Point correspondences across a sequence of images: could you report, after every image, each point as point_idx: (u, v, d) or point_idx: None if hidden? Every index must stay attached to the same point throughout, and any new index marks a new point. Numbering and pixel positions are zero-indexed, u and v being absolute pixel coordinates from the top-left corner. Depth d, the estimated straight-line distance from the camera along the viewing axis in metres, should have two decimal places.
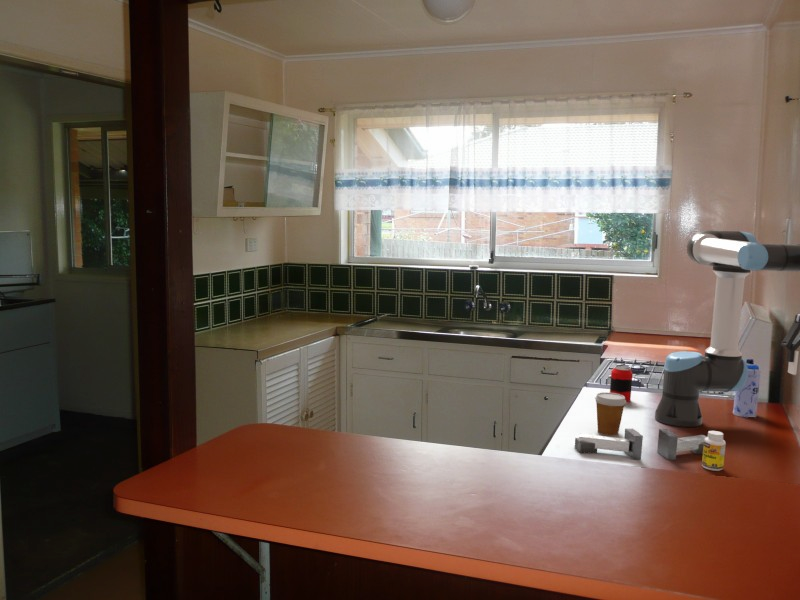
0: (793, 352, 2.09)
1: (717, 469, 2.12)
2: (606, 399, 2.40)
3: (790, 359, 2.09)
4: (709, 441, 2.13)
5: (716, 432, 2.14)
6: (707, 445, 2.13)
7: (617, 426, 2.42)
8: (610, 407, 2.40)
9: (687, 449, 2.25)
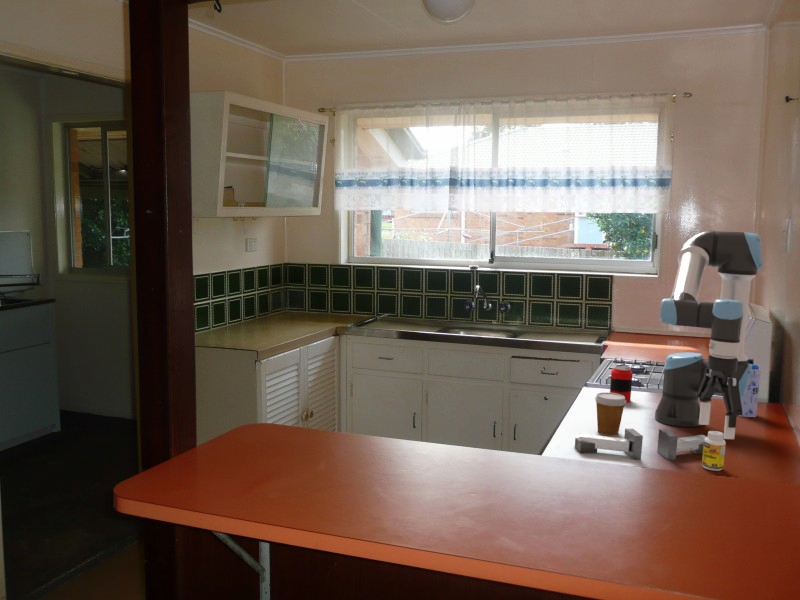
0: None
1: (717, 469, 2.12)
2: (606, 399, 2.40)
3: None
4: (709, 441, 2.13)
5: (716, 432, 2.14)
6: (707, 445, 2.13)
7: (617, 426, 2.42)
8: (609, 407, 2.40)
9: (687, 449, 2.25)
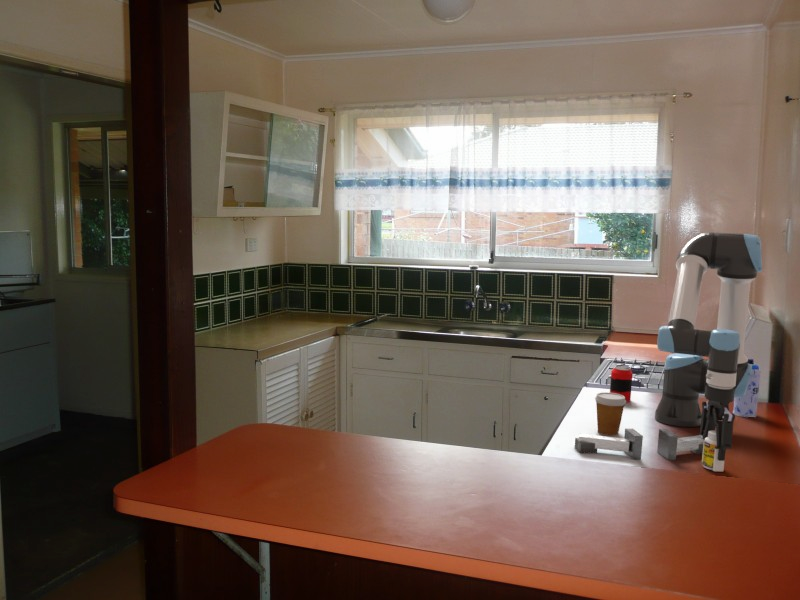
0: None
1: None
2: (606, 399, 2.40)
3: None
4: (709, 441, 2.13)
5: None
6: (707, 444, 2.13)
7: (617, 426, 2.42)
8: (609, 407, 2.40)
9: (687, 449, 2.25)
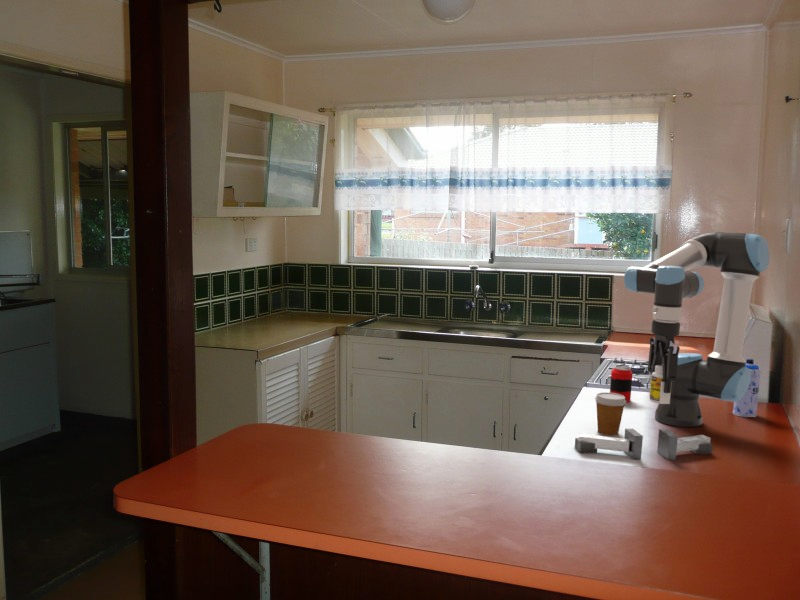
0: None
1: None
2: (606, 399, 2.40)
3: None
4: (656, 374, 2.18)
5: None
6: (654, 378, 2.18)
7: (617, 426, 2.42)
8: (609, 407, 2.39)
9: (687, 449, 2.25)
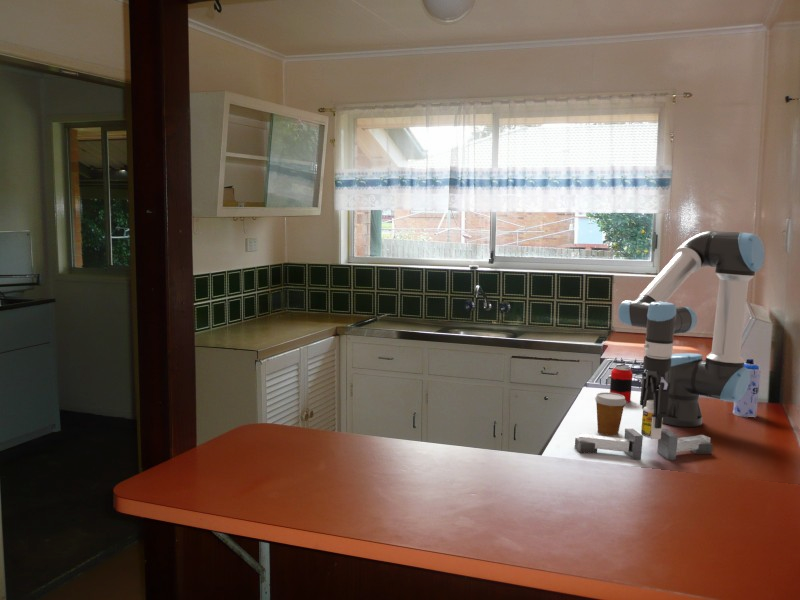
0: None
1: None
2: (606, 399, 2.40)
3: None
4: (647, 409, 2.20)
5: None
6: (645, 413, 2.21)
7: (617, 426, 2.42)
8: (609, 407, 2.40)
9: (687, 449, 2.25)
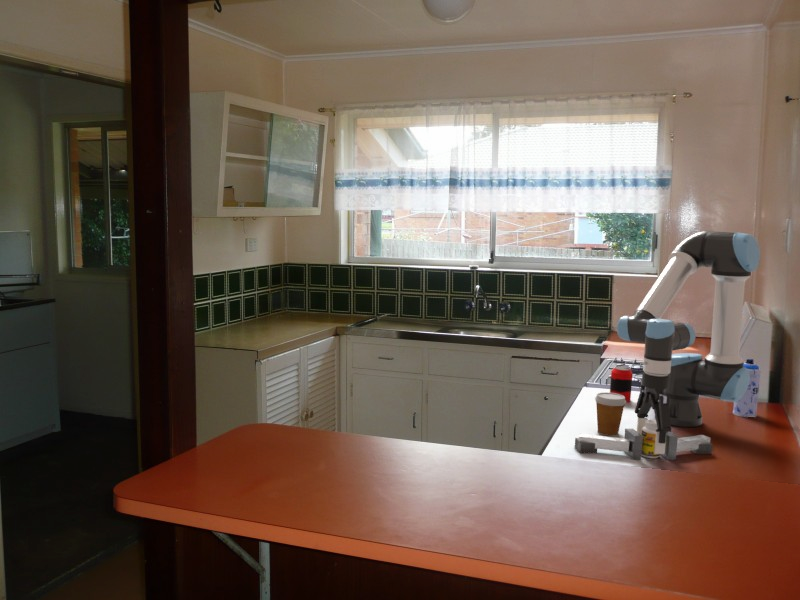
0: None
1: (653, 457, 2.21)
2: (606, 399, 2.40)
3: None
4: (646, 430, 2.21)
5: (653, 421, 2.22)
6: (644, 433, 2.21)
7: (617, 426, 2.42)
8: (609, 407, 2.40)
9: (687, 449, 2.25)
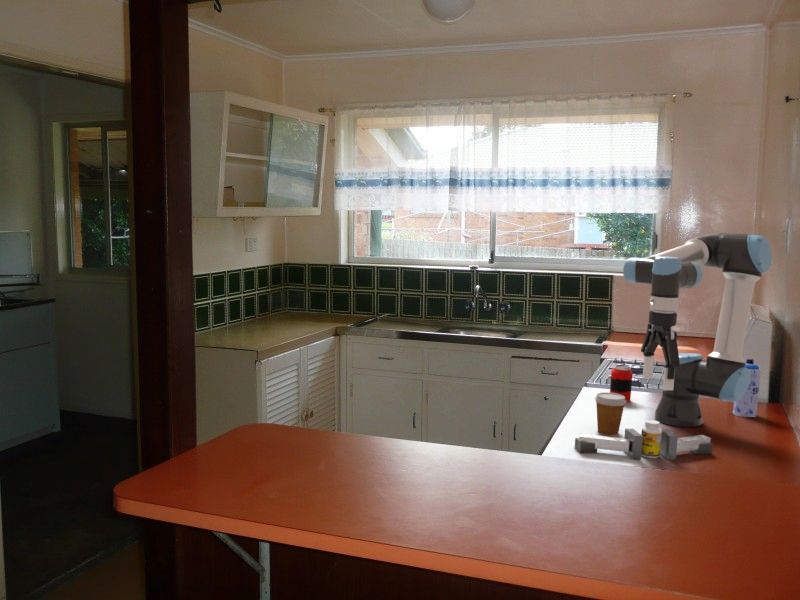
0: None
1: (653, 457, 2.21)
2: (606, 399, 2.40)
3: None
4: (646, 430, 2.21)
5: (653, 421, 2.22)
6: (644, 433, 2.21)
7: (617, 426, 2.42)
8: (609, 407, 2.40)
9: (687, 449, 2.25)
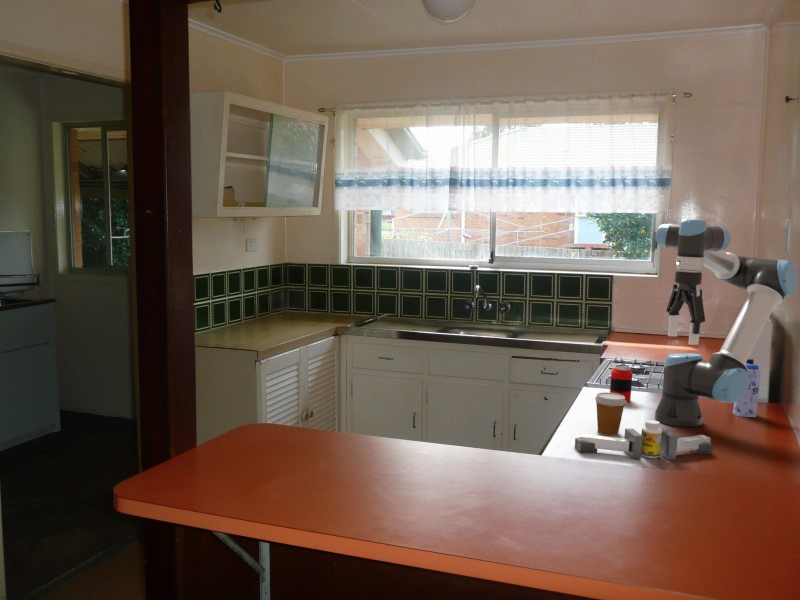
0: None
1: (653, 457, 2.21)
2: (606, 399, 2.40)
3: None
4: (646, 430, 2.21)
5: (653, 421, 2.22)
6: (644, 433, 2.21)
7: (617, 426, 2.42)
8: (609, 407, 2.40)
9: (687, 449, 2.25)
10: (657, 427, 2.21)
